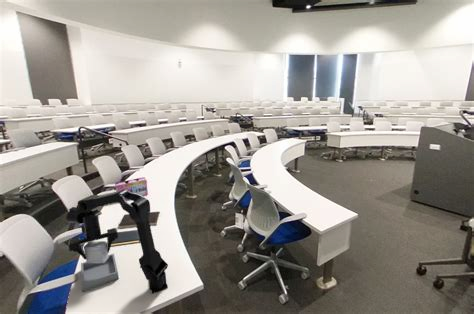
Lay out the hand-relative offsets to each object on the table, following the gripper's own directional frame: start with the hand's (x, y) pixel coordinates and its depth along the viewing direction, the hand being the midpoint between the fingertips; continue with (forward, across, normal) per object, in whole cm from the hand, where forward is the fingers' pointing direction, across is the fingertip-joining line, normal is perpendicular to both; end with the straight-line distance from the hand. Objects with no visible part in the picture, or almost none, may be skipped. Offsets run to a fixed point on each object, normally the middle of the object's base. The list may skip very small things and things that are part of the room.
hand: (97, 255), depth 111 cm
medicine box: (+3, 0, 0) cm, 3 cm away
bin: (+10, 0, 0) cm, 10 cm away
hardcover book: (+11, -26, -44) cm, 52 cm away
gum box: (+10, -29, -90) cm, 95 cm away
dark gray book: (+11, -15, -26) cm, 32 cm away
